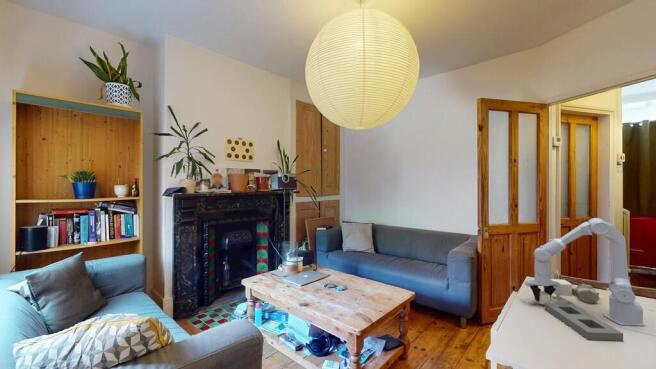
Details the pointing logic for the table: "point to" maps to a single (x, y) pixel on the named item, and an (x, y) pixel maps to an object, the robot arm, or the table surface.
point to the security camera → (561, 291)
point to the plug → (544, 298)
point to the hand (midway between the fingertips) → (542, 300)
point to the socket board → (583, 322)
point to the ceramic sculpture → (586, 293)
